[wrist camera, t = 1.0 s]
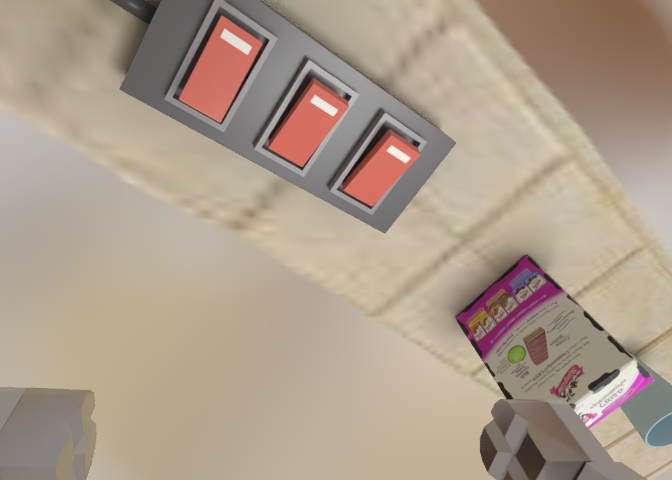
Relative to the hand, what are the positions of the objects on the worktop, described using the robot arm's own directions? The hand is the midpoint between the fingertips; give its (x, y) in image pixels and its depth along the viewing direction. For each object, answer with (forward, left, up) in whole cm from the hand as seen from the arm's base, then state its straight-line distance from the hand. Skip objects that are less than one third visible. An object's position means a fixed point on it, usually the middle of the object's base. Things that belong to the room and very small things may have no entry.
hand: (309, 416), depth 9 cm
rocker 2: (+4, 0, -27) cm, 27 cm away
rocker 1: (-3, 0, -27) cm, 27 cm away
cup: (+62, -7, -32) cm, 71 cm away
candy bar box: (+36, -6, -32) cm, 49 cm away
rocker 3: (+11, 0, -27) cm, 29 cm away
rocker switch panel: (+2, 0, -32) cm, 32 cm away
